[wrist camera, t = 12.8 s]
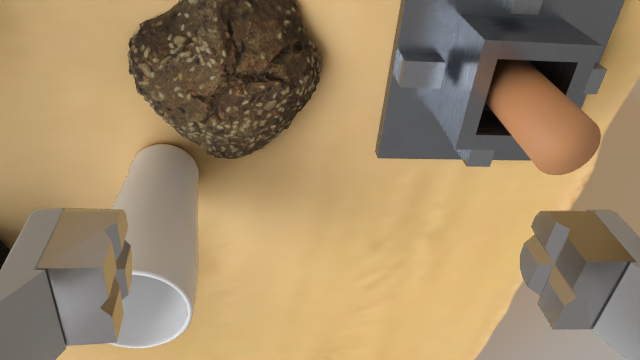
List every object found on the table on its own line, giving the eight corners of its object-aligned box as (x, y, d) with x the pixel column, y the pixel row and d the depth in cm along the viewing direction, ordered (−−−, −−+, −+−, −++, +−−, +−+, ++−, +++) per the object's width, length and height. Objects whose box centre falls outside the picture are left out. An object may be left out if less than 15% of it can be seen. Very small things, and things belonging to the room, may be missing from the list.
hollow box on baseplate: (410, -55, 36) (436, -32, 31) (630, -38, 38) (686, -15, 33) (375, 151, 45) (391, 194, 40) (554, 154, 47) (589, 195, 42)
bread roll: (221, 166, 44) (218, 202, 40) (105, 50, 38) (88, 80, 34) (351, 78, 41) (362, 108, 37) (249, -64, 35) (249, -47, 30)
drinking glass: (184, 120, 41) (158, 255, 29) (222, 186, 45) (213, 329, 33) (104, 150, 42) (46, 293, 30) (149, 212, 46) (113, 362, 33)
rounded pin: (477, 43, 39) (546, 115, 30) (528, 46, 40) (611, 117, 31) (464, 94, 41) (524, 174, 32) (513, 95, 42) (585, 175, 33)
